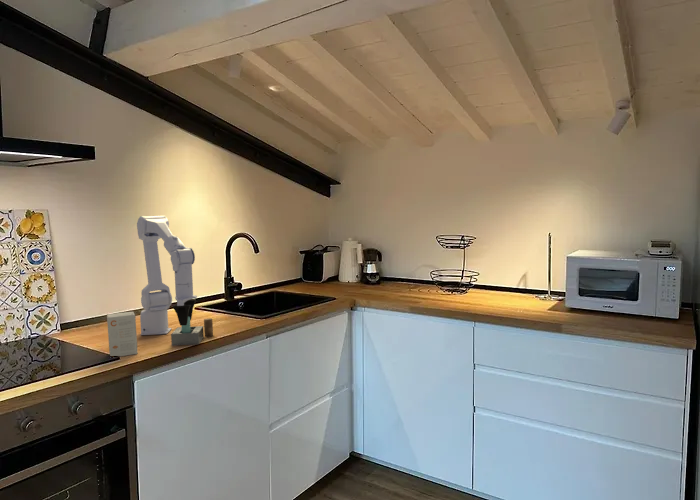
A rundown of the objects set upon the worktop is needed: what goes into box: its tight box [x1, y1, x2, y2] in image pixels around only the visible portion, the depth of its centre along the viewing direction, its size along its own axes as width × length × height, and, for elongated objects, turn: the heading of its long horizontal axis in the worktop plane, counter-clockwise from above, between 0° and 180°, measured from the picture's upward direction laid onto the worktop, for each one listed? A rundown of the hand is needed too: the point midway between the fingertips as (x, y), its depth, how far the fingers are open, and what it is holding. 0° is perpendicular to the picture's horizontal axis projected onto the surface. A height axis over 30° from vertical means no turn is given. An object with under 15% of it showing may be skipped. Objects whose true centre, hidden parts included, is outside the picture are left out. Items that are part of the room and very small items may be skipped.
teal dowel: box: [180, 316, 192, 333], centre depth 173 cm, size 3×3×8 cm
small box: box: [106, 311, 139, 357], centre depth 161 cm, size 8×6×13 cm
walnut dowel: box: [203, 317, 214, 337], centre depth 183 cm, size 3×3×6 cm
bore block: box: [170, 325, 205, 347], centre depth 176 cm, size 9×10×4 cm
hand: (185, 322), depth 173 cm, fingers open, 7 cm apart
